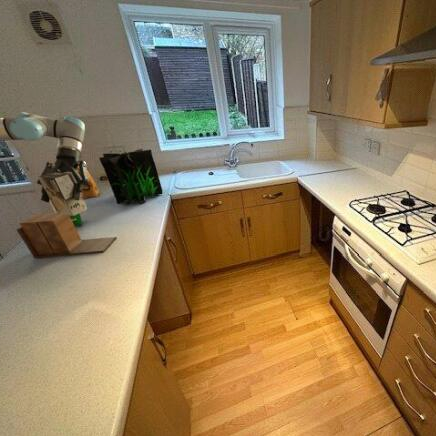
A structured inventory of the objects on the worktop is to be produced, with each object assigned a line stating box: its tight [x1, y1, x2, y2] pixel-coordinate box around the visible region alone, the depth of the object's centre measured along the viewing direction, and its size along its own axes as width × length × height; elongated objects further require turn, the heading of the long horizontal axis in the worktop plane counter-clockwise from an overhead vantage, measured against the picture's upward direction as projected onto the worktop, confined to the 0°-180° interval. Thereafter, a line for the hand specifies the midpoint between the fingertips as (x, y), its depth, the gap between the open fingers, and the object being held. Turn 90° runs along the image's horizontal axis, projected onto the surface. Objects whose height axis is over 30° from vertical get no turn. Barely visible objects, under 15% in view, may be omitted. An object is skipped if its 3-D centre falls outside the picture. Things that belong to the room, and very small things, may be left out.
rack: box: [16, 211, 117, 260], centre depth 108 cm, size 28×12×17 cm, turn 99°
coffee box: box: [37, 172, 88, 216], centre depth 97 cm, size 9×6×16 cm
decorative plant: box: [98, 148, 164, 206], centre depth 162 cm, size 29×30×30 cm
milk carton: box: [49, 200, 83, 228], centre depth 128 cm, size 9×9×20 cm
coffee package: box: [76, 166, 100, 199], centre depth 167 cm, size 10×12×22 cm
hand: (60, 200), depth 95 cm, fingers closed on coffee box, 10 cm apart
